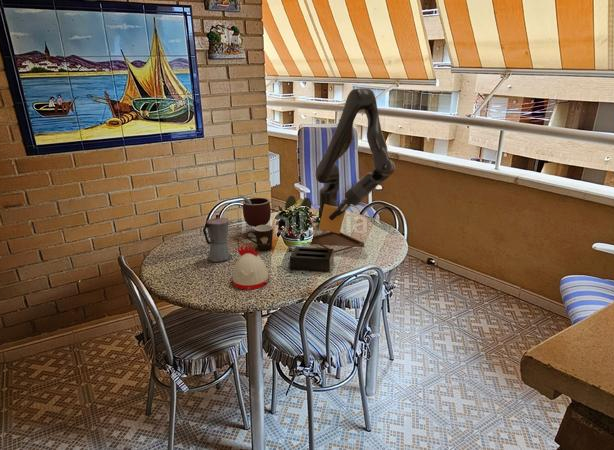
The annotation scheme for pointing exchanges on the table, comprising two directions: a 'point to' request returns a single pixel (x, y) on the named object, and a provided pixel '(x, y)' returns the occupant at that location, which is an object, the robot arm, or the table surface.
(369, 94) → the robot arm
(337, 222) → the toast
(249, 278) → the kitchen timer
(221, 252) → the moka pot
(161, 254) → the table surface
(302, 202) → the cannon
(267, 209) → the mate gourd
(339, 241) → the tray
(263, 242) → the coffee mug
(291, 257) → the low dark brown box
